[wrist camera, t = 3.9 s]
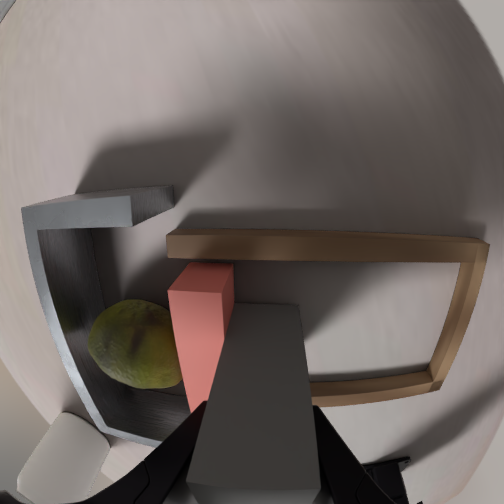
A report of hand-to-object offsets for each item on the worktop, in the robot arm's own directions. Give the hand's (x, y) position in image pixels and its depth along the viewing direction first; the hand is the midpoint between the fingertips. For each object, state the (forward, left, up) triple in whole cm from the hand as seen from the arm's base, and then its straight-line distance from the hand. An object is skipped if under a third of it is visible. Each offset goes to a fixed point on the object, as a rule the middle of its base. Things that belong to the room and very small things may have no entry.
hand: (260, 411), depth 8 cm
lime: (0, +6, -6) cm, 8 cm away
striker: (0, +1, -5) cm, 5 cm away
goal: (0, +7, -6) cm, 9 cm away
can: (-16, +18, -6) cm, 25 cm away
